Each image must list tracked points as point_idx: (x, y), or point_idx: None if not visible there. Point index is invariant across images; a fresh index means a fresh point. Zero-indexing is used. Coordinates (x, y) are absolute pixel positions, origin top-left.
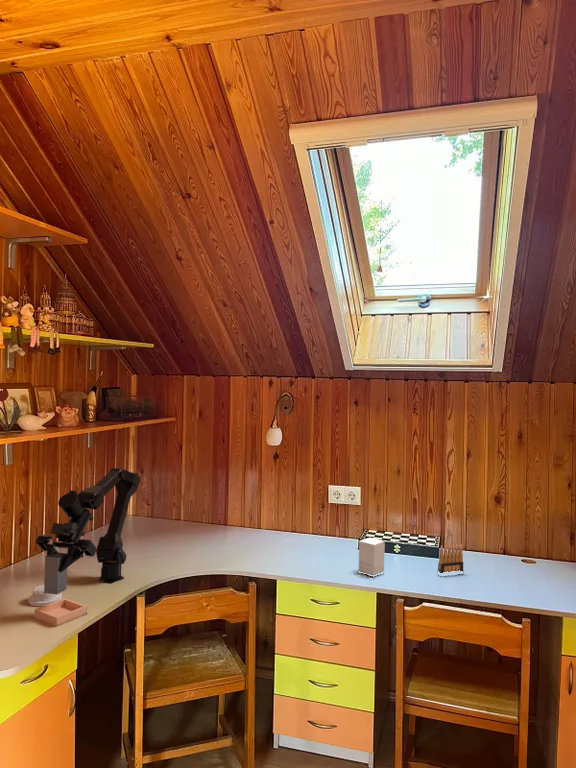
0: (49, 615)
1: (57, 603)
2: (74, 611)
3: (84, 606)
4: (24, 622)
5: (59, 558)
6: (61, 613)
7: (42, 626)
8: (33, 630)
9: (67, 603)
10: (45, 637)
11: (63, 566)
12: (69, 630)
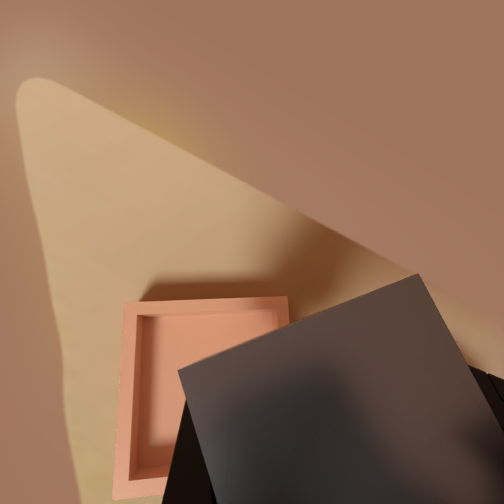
0: (180, 300)
1: None
2: (119, 405)
3: (122, 484)
4: (269, 256)
5: (190, 408)
6: None
7: (184, 276)
8: (181, 238)
9: None
10: (94, 230)
11: (177, 445)
12: (60, 319)
